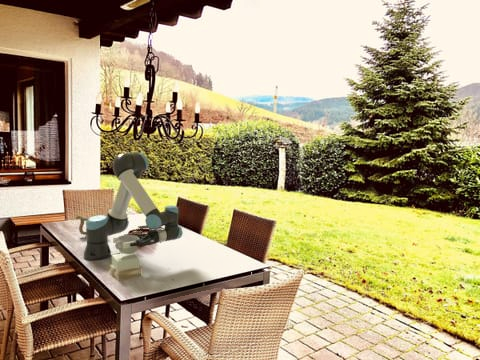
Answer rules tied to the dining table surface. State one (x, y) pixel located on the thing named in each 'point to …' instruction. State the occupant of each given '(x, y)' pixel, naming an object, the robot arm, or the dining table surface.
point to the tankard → (82, 225)
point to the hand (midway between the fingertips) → (118, 243)
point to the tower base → (125, 273)
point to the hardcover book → (147, 227)
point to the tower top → (125, 261)
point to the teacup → (123, 240)
